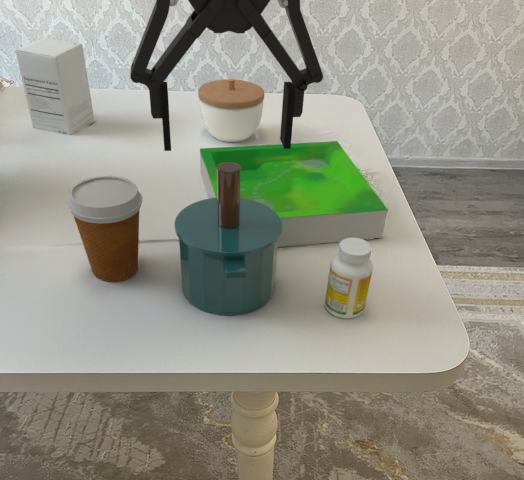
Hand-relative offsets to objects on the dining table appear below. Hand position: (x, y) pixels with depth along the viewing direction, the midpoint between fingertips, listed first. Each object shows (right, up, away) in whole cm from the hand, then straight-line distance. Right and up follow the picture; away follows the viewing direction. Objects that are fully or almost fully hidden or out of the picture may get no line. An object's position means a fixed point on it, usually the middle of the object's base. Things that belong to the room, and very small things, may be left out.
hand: (227, 145), depth 68 cm
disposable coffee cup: (-17, -12, +16) cm, 26 cm away
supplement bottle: (+15, -18, +11) cm, 26 cm away
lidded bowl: (-2, +19, +51) cm, 54 cm away
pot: (-1, -15, +13) cm, 20 cm away
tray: (+8, +1, +31) cm, 32 cm away
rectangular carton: (-36, +21, +51) cm, 66 cm away
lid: (0, -8, +7) cm, 11 cm away
